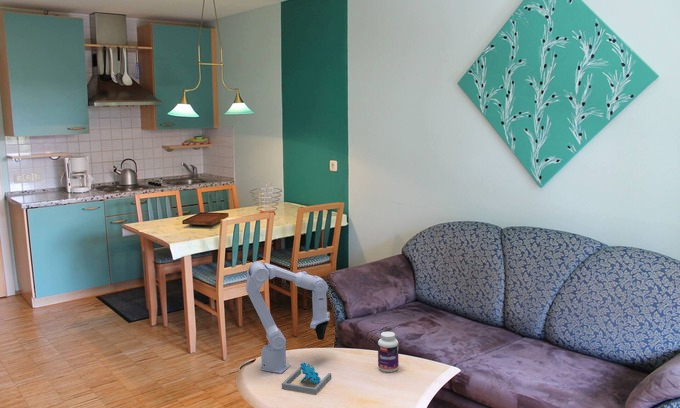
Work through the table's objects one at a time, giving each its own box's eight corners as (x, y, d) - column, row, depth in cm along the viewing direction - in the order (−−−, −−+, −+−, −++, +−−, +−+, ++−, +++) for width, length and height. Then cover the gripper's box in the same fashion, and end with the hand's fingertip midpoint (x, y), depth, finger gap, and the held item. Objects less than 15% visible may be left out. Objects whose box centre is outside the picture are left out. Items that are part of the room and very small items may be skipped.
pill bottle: (377, 372, 231) (376, 337, 229) (378, 364, 239) (378, 330, 237) (398, 373, 230) (397, 338, 228) (399, 364, 238) (398, 330, 236)
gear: (318, 385, 219) (299, 365, 220) (307, 396, 220) (288, 376, 221) (324, 376, 230) (307, 357, 231) (314, 386, 231) (296, 367, 232)
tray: (281, 388, 221) (281, 383, 220) (298, 372, 233) (298, 368, 233) (316, 394, 215) (315, 389, 215) (331, 378, 228) (331, 373, 228)
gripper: (321, 314, 232) (322, 347, 234) (335, 302, 245) (336, 333, 247) (305, 312, 235) (306, 344, 237) (320, 300, 248) (321, 331, 250)
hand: (320, 339), depth 242 cm, fingers closed
